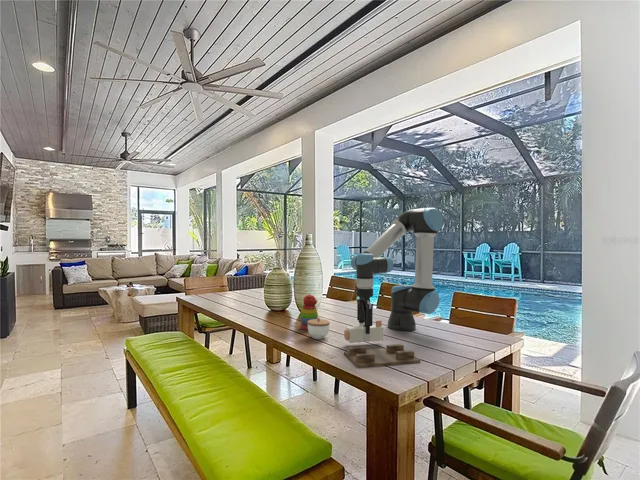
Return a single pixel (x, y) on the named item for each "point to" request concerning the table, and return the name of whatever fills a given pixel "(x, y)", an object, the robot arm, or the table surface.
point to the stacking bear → (308, 311)
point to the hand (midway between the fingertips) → (364, 338)
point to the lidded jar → (318, 328)
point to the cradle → (380, 356)
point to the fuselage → (357, 333)
